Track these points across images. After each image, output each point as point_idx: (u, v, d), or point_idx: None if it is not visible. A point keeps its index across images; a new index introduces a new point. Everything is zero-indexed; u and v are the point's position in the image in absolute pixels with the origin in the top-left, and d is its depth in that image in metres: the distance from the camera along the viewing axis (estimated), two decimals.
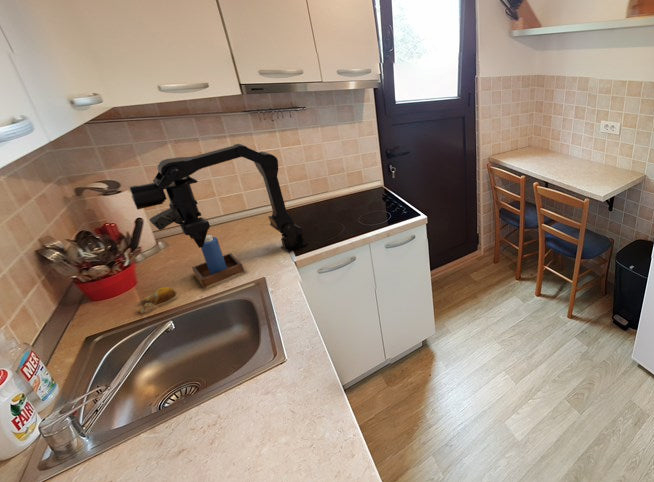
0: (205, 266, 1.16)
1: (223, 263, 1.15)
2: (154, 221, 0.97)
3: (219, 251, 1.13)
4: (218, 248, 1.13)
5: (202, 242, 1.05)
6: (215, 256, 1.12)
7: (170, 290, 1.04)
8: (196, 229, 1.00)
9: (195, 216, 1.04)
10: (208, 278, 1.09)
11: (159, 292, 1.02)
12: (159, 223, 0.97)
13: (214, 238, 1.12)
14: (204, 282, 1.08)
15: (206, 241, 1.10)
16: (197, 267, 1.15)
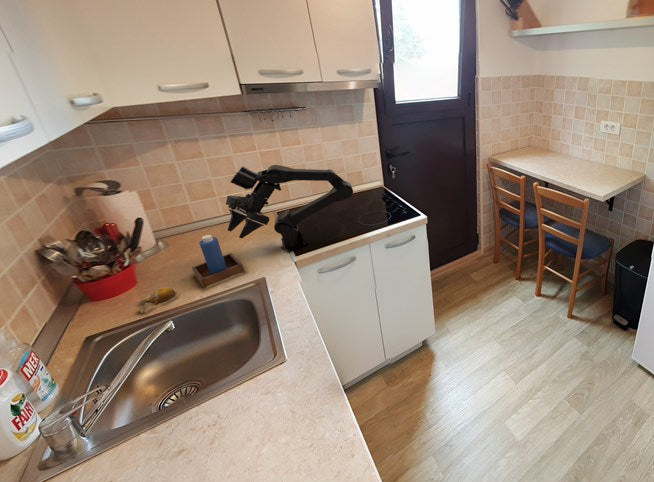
0: (205, 266, 1.16)
1: (223, 263, 1.15)
2: (234, 198, 1.13)
3: (219, 251, 1.13)
4: (218, 248, 1.13)
5: (245, 234, 1.15)
6: (215, 256, 1.12)
7: (170, 290, 1.04)
8: (259, 220, 1.14)
9: (257, 212, 1.19)
10: (208, 278, 1.09)
11: (159, 292, 1.02)
12: (239, 201, 1.12)
13: (214, 238, 1.12)
14: (204, 282, 1.08)
15: (206, 241, 1.10)
16: (197, 267, 1.15)
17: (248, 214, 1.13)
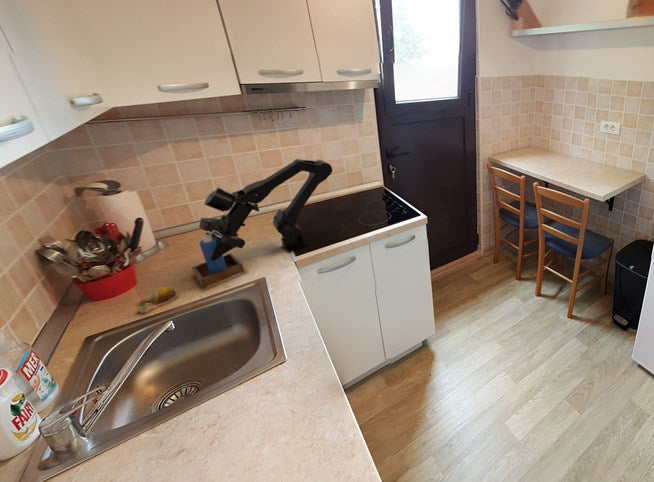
0: (205, 266, 1.16)
1: (223, 263, 1.15)
2: (208, 221, 1.08)
3: None
4: None
5: (217, 256, 1.12)
6: None
7: (170, 290, 1.04)
8: (234, 244, 1.10)
9: (233, 235, 1.15)
10: (208, 278, 1.09)
11: (159, 292, 1.02)
12: (212, 224, 1.08)
13: (214, 238, 1.12)
14: (204, 282, 1.08)
15: (206, 241, 1.10)
16: (197, 267, 1.15)
17: (222, 238, 1.09)
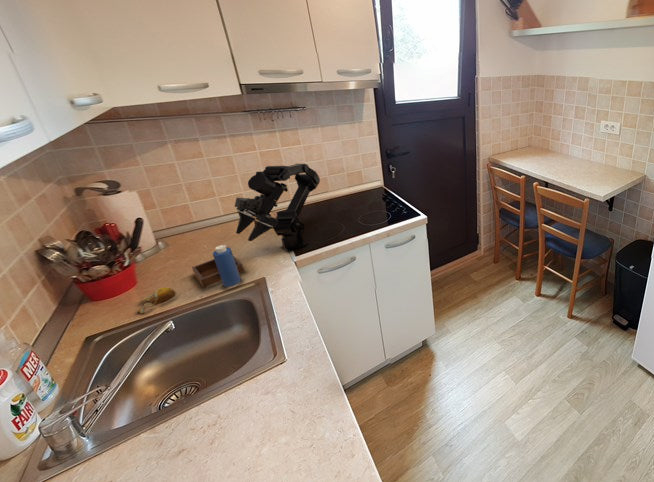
0: (205, 266, 1.16)
1: (237, 274, 1.10)
2: (243, 200, 1.11)
3: (233, 262, 1.08)
4: (232, 259, 1.08)
5: (254, 237, 1.13)
6: (229, 267, 1.07)
7: (170, 290, 1.04)
8: (269, 222, 1.12)
9: (266, 215, 1.17)
10: (208, 278, 1.09)
11: (159, 292, 1.02)
12: (248, 203, 1.10)
13: (228, 248, 1.08)
14: (204, 282, 1.08)
15: (220, 252, 1.05)
16: (197, 267, 1.15)
17: (257, 216, 1.11)
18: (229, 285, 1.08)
